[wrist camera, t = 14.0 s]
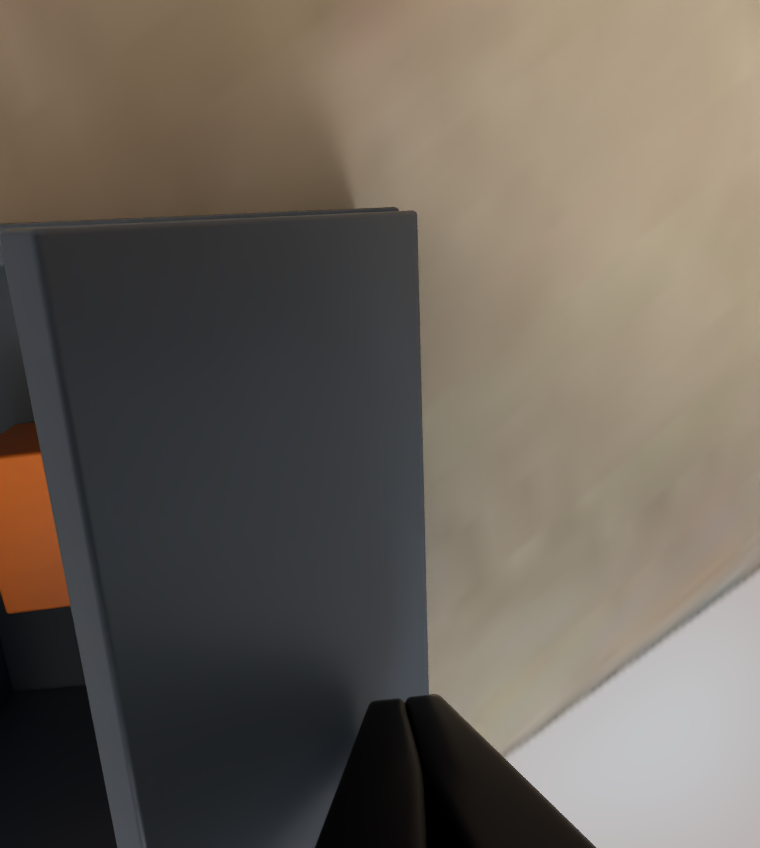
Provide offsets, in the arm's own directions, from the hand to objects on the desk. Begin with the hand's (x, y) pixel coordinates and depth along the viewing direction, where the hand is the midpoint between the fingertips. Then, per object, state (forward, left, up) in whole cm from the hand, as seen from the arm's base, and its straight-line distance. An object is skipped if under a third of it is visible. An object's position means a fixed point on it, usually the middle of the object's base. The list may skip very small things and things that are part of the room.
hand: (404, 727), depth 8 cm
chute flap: (+1, 0, 0) cm, 1 cm away
